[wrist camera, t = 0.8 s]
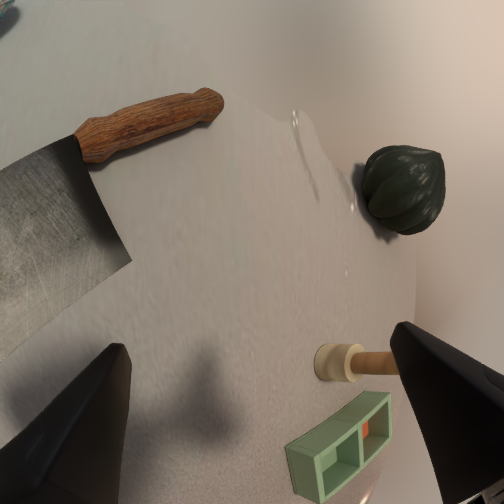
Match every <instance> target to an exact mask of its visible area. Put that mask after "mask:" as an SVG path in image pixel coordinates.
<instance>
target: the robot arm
mask: <svg viewBox="0 0 504 504" xmlns="http://www.w3.org/2000/svg"><path fill="white" fill-rule="evenodd" d="M390 347H391V350H392V353H393V356H394V359H395V363H396V366H397V369H398V372H399V375H400V378H401V381H402V384H403V386H404V389H405V391H406V393H407V395H408V398H409V401H410V403H411V405H412V408H413V411H414V413H415V416H416V419H417V421H418V424H419V427H420V429H421V432H422V435H423V438H424V441H425V443H426V446H427V449H428V452H429V455H430V458H431V462H432V464H433V468H434V472H435V475H436V479H437V482H438V485H439V489H440V493H441V497H442V501H443V504H458V503H460V502H463V501H464V500H466V499H468V498H470V497H472V496H474V495H476V494H478V493H479V494H478V495H477V496H476V497H475V498H473V499H472V500H471V501H469V502H468V503H467V504H504V375H502V374H499V373H498V372H496V371H494V370H493V369H491V368H489V367H487V366H485V365H484V364H481V363H480V362H479V361H477V360H475V359H473V358H472V357H470V356H468V355H466V354H465V353H463V352H461V351H459V350H458V349H456V348H454V347H452V346H451V345H449V344H447V343H445V342H444V341H442V340H440V339H438V338H436V337H435V336H433V335H431V334H429V333H428V332H426V331H424V330H422V329H421V328H419V327H417V326H415V325H414V324H412V323H410V322H408V321H405V322H400V323H398V324H397V325H396V327H395V329H394V331H393V334H392V336H391V339H390ZM131 371H132V363H131V360H130V357H129V355H128V352H127V350H126V347H125V345H124V344H122V343H111V344H110V345H109V346H108V347H107V348H106V349H104V350H103V351H102V352H101V353H100V354H99V355H98V356H97V357H96V358H95V359H94V360H93V361H92V362H91V363H90V364H89V365H88V366H87V367H86V368H85V369H84V370H83V371H82V372H81V373H80V374H79V375H78V376H77V377H76V378H75V379H74V380H73V381H72V382H71V383H70V384H69V385H68V386H67V387H66V388H65V389H64V390H63V391H62V392H61V393H60V394H59V395H58V396H57V397H56V398H55V399H54V400H53V401H52V402H51V403H50V404H49V405H48V406H47V407H46V408H45V409H44V410H43V411H44V412H43V411H42V412H41V413H40V414H39V415H38V416H37V417H36V418H35V419H34V420H33V421H32V422H31V423H30V424H29V425H28V426H27V427H26V428H25V429H24V430H22V431H21V432H20V433H19V434H18V435H17V436H16V437H14V438H13V439H12V440H11V441H10V442H9V443H7V444H6V445H5V446H4V447H3V448H1V449H0V504H118V494H119V481H120V471H121V461H122V453H123V445H124V437H125V431H126V424H127V418H128V411H129V400H130V384H131ZM480 492H481V493H480Z"/></svg>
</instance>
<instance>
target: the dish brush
mask: <svg viewBox="0 0 504 504" xmlns="http://www.w3.org/2000/svg"><path fill="white" fill-rule="evenodd" d="M314 368H315V372H316V374H317V376H318V377H319V378H320V379H322V380H331V381H341V382H357V381H358V380H360V378H361V377H362V376H363V374H372V375H399V372H398V369H397V366H396V363H395V359H394V356H393V353H392V351H391V352H365V350H364V348H363V347H362V346H361V345H360V344H326V345H324V346H322V347H321V348H320V349H319V350H318V352H317V354H316V356H315V361H314Z"/></svg>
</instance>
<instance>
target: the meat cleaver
mask: <svg viewBox="0 0 504 504" xmlns="http://www.w3.org/2000/svg"><path fill="white" fill-rule="evenodd" d="M223 108H224V100H223V97H222V96H221V95H220V94H219V93H218V92H216V91H214V90H211V89H209V88H202V89H199V90H198V91H196V92H195V93H193V94H190V93H179V94H175V95H170V96H166V97H162V98H158V99H154V100H150V101H146V102H143V103H139V104H136V105H132V106H129V107H126V108H123V109H121V110H119V111H117V112H115V113H113V114H111V115H109V116H106V117H95V118H89V119H87V120H86V121H85V122H84V123H83V124H82V125H81V126H80V127H79V128H78V129H77V130H76V131H75V132H74V133H73V134H72V135H70V136H67V137H65V138H63V139H60V140H58V141H56V142H54V143H52V144H49V145H47V146H45V147H43V148H41V149H39V150H37V151H35V152H33V153H31V154H29V155H27V156H25V157H23V158H21V159H20V160H18V161H16V162H14V163H12V164H11V165H9V166H7V167H5V168H4V169H2V170H0V362H1V361H2V360H3V359H4V358H5V357H7V356H8V355H9V354H10V353H11V352H12V351H13V350H15V349H16V348H17V347H18V346H19V345H21V344H22V343H23V342H24V341H25V340H27V339H28V338H29V337H30V336H31V335H33V334H34V333H35V332H36V331H38V330H39V329H40V328H41V327H43V326H44V325H45V324H46V323H48V322H49V321H50V320H51V319H53V318H54V317H55V316H57V315H58V314H59V313H60V312H62V311H63V310H64V309H66V308H67V307H68V306H70V305H71V304H72V303H74V302H75V301H76V300H78V299H79V298H80V297H82V296H83V295H84V294H86V293H87V292H88V291H90V290H91V289H93V288H94V287H95V286H97V285H98V284H99V283H101V282H102V281H104V280H105V279H107V278H108V277H109V276H111V275H112V274H114V273H115V272H116V271H118V270H119V269H121V268H122V267H124V266H125V265H127V264H128V263H130V262H131V261H132V259H131V258H130V256H129V254H128V252H127V250H126V249H125V247H124V245H123V243H122V241H121V239H120V237H119V236H118V234H117V232H116V230H115V228H114V226H113V224H112V222H111V220H110V218H109V216H108V214H107V212H106V210H105V208H104V206H103V204H102V202H101V199H100V197H99V195H98V193H97V191H96V189H95V186H94V184H93V182H92V180H91V177H90V175H89V173H88V170H87V168H86V166H85V163H101V162H103V161H104V160H106V159H107V158H108V157H109V156H111V155H112V154H113V153H114V152H116V151H118V150H122V149H126V148H130V147H134V146H136V145H139V144H141V143H144V142H147V141H149V140H152V139H155V138H157V137H160V136H163V135H166V134H169V133H172V132H175V131H178V130H181V129H184V128H187V127H190V126H192V125H193V124H195V123H196V122H198V121H205V122H210V121H213V120H214V119H215V118H216V117H217V116H218V115H219V114H220V113H221V111H222V110H223Z"/></svg>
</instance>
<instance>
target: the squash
mask: <svg viewBox="0 0 504 504" xmlns="http://www.w3.org/2000/svg"><path fill="white" fill-rule="evenodd" d="M445 190H446V188H445V169H444V163H443V160H442V158H441V154H440V153H437V152H435V151H431V150H427V149H421V148H417V147H412V146H407V145H400V146H387V147H383V148H381V149H379V150H377V151H376V152H374V153H373V154H372V155H371V156H370V157H369V159H368V160H367V162H366V165H365V168H364V181H363V185H362V191H363V194H364V196H365V197H366V198H367V199H368V200H370V201H369V204H368V209H369V211H370V213H371V214H372V215H373V216H375V217H379V218H381V222H382V224H383V226H384V227H385V228H386V229H387V230H389V231H395V232H397V233H399V234H401V235H412V234H416V233H418V232H422V231H423V230H425V229H427V228H428V227H429V226H430V225H431V224H432V223H433V222H434V221H435V219H436V218H437V217H438V215H439V213H440V211H441V209H442V206H443V204H444V199H445Z"/></svg>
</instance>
